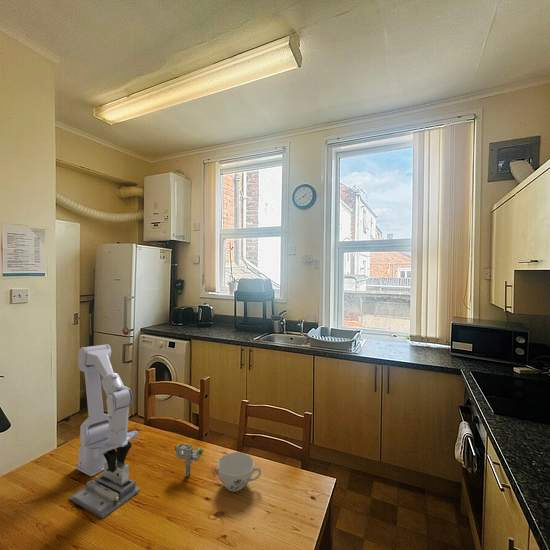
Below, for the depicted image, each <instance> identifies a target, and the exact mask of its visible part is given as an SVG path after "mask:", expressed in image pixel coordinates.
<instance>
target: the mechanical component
mask: <svg viewBox="0 0 550 550" xmlns="http://www.w3.org/2000/svg"><path fill="white" fill-rule="evenodd" d="M174 451H175V456H176V458H177V459H179V460H184V464H185V475H184V476H185V477H188V478H189V477H190V475H191V464H192V463H193V462H197V461H198V460H199V459H200V458H201V457H202V455H203V453H204V449H202V447H198V449H197V450H195V448H194V445H192V444H186V443H179V444H177V445H176V444H175V447H174Z"/></svg>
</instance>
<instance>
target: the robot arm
mask: <svg viewBox="0 0 550 550" xmlns="http://www.w3.org/2000/svg"><path fill="white" fill-rule="evenodd" d="M111 356H112V348H111V345H110V344H108V343H105V344H100V345H91V346H86V347H85V346H82V347H81V348H80V349H79V350H78V354H77V363H78V369H79V371H81V372H83V374H84V380H85V390H86V403H87V404H86V405H87V415H88V417H87V418H86V419H85V420H84V421H83V422H82V423H81V425H80V426H79V427H80V428H79V429H80V432H79V441H80V446H79V450H78V465H76V466H75V470H78V471H79V472H82V473H83V474H86V475H87V476H88V477H94V476H96V475H97V474H99V473H101V472H102V471H104V461H107V464H108V468H109V471H110V472H112V473H113V472H115V468H116V460H118V461H120V462H123V463H125V461H126V458H127V455H128V453H129V451H130V449H131V448H132V442H130V441H131V440H133V439H137V438H139V432H138V430H132V431H129V432H128V426H129V407H130V406H131V405H132V404H133V402H134V401H133V397H134V396H133V391H132V390H131V388H130V387H128V386H127V385H124V383H123V381H122V379H121V377H120V375H119V373H116V372H114V369H113V366H112V363H111ZM100 376H101V377H100ZM101 378H102V380H101ZM102 388H103V390H104V392H105V395H106V408H107V413H104V403H103V393H102Z"/></svg>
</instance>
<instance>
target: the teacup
mask: <svg viewBox="0 0 550 550" xmlns="http://www.w3.org/2000/svg"><path fill="white" fill-rule="evenodd" d="M216 465H217V472H218V477H219V480H220V481H221V484H222V485H223V486H224V487H225V488H226V489H227V490H228V492H229V491H230V492H231V493H235V492H239V491H241V490H243V489H244V488H245V487H246V486H247V485H248V484H249V482H252V481H256V480H258V479H259V478H260V477H261V475H262V469H261V468H260V467H258V466H256V467H255V462H254V459H253V458H252V457H251V455H249V454H247V453H245V452H239V451H238V452H230V453H228V454H225V455H223V456H221V457H220V458H219V460H218V461H217V464H216ZM256 471H257V472H258V475H257V476H254V477H252V476H253V474H254V473H255V472H256Z"/></svg>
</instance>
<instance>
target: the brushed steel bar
mask: <svg viewBox="0 0 550 550" xmlns="http://www.w3.org/2000/svg"><path fill="white" fill-rule="evenodd" d="M103 474H104V477H106V478H108V479H110V480H112V481H114V482H116V483H118V484H120V485H123V484H124V483H126V482H127V481H128V478H129V475H130V465H129V464H127V463H125V462H124V463H123V462H120V461H118V460H116V468H115V472H113V473H112V472H110V471H109V468H108V464H107V461H104V470H103Z"/></svg>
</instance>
